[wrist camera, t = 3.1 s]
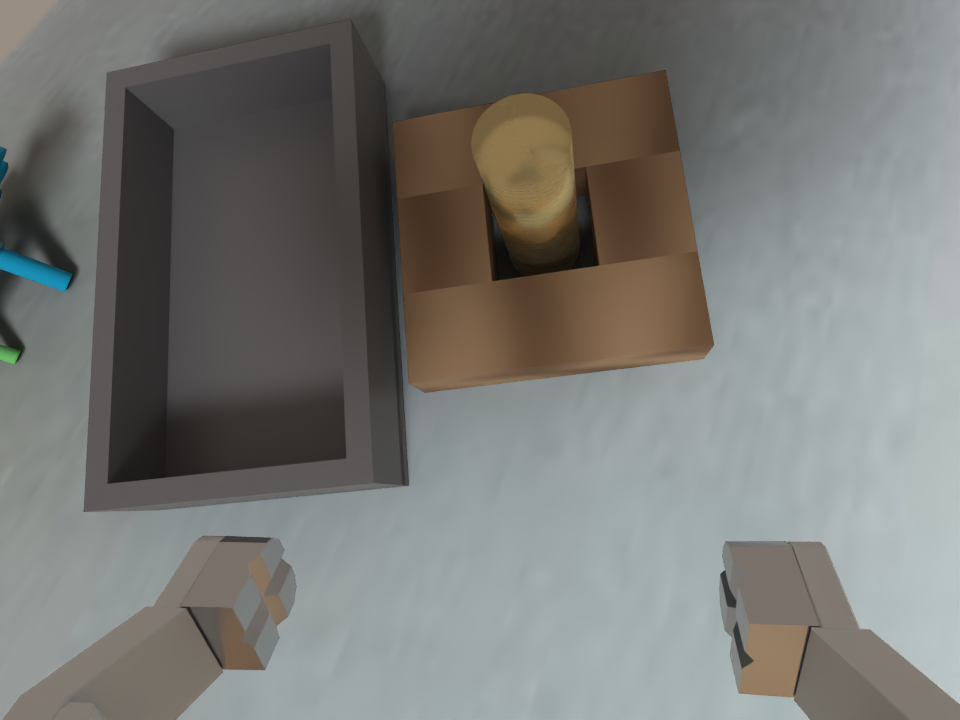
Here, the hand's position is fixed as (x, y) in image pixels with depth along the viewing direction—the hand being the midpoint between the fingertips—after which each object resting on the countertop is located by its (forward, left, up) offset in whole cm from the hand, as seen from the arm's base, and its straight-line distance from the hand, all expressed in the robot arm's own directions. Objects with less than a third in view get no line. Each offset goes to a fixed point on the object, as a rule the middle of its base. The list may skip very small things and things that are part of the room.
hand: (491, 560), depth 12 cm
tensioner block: (-1, -12, -15) cm, 20 cm away
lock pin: (-1, -12, -15) cm, 20 cm away
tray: (+12, -12, -15) cm, 23 cm away
